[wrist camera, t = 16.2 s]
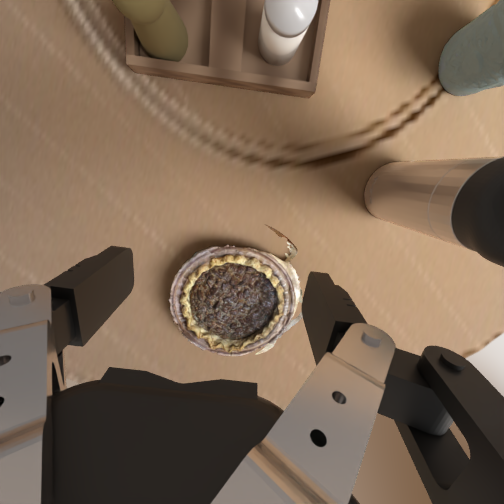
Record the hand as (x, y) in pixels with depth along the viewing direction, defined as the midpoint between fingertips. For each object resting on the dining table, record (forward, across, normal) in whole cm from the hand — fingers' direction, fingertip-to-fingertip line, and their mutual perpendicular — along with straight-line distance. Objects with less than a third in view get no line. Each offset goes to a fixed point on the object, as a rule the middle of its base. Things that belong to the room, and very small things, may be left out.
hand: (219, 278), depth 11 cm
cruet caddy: (+31, +5, -19) cm, 36 cm away
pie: (+29, 0, +19) cm, 35 cm away
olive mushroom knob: (+29, +12, -17) cm, 36 cm away
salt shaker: (+30, -2, -19) cm, 36 cm away
